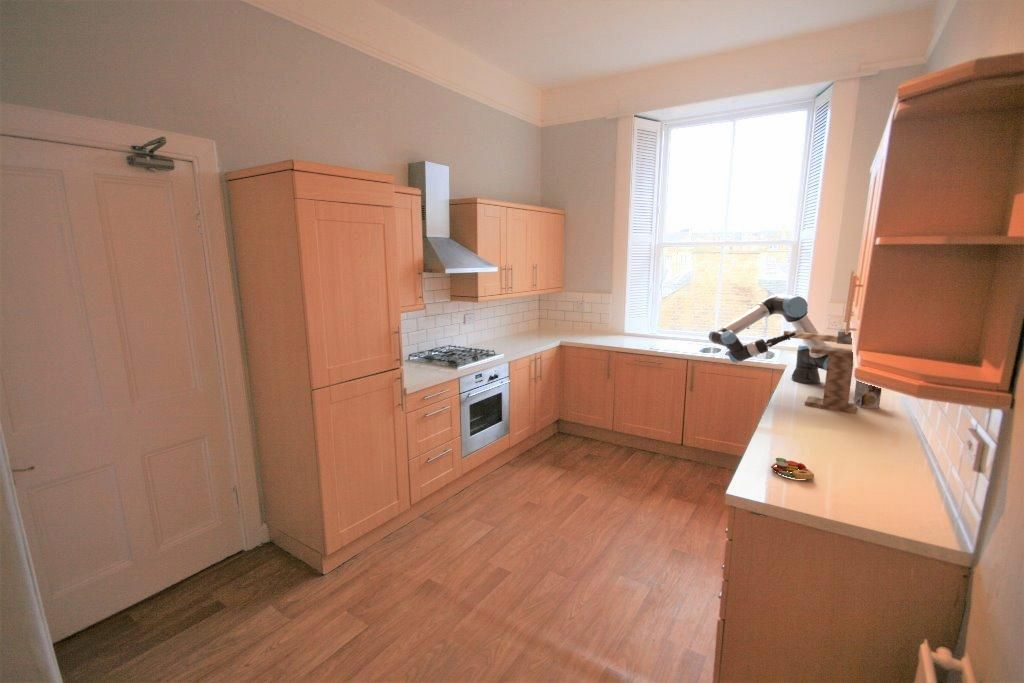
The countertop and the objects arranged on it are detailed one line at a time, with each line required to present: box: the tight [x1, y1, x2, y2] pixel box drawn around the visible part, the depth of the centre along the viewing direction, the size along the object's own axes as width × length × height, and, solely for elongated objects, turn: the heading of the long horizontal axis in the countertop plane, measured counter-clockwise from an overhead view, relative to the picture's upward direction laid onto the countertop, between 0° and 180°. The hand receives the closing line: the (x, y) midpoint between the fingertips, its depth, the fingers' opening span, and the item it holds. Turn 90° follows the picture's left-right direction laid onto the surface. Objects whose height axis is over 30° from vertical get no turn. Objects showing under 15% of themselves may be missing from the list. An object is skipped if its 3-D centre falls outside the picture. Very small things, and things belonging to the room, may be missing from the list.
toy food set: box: [770, 457, 815, 480], centre depth 166 cm, size 13×13×3 cm
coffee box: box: [853, 379, 882, 409], centre depth 237 cm, size 9×6×16 cm
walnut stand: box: [804, 346, 858, 414], centre depth 236 cm, size 21×12×30 cm, turn 49°
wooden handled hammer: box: [782, 328, 853, 346], centre depth 238 cm, size 30×10×6 cm, turn 50°
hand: (802, 330), depth 242 cm, fingers closed on wooden handled hammer, 3 cm apart
